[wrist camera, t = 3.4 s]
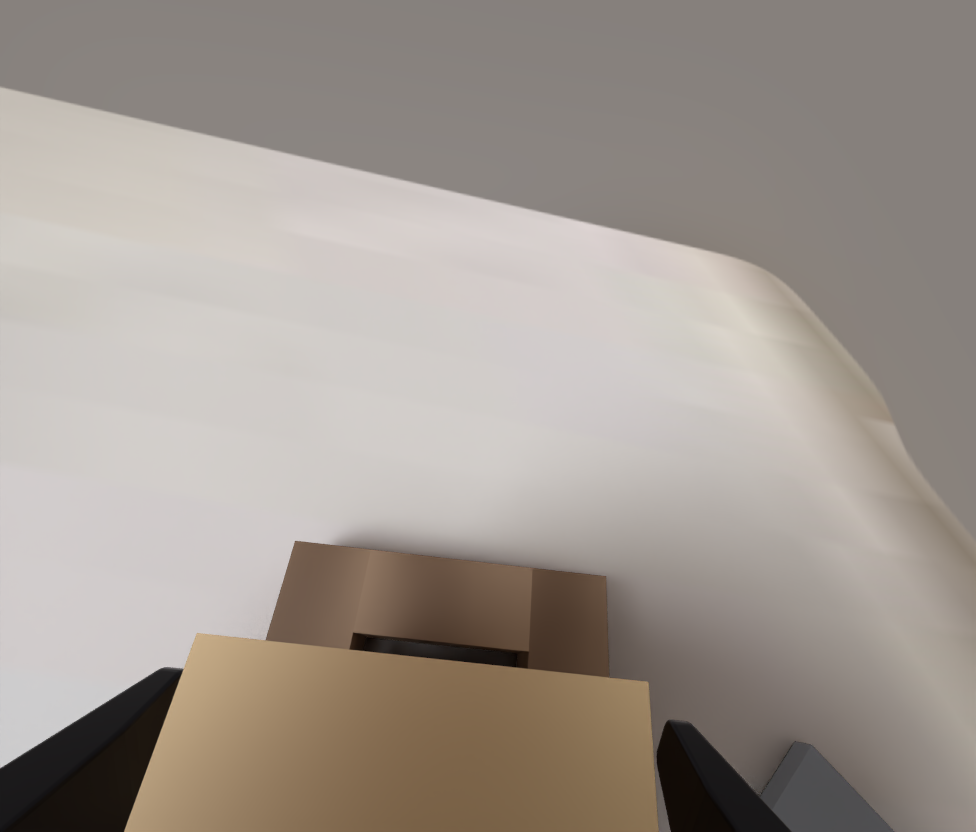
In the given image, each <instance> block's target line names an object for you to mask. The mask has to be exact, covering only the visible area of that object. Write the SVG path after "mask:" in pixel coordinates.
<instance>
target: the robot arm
mask: <svg viewBox="0 0 976 832" xmlns="http://www.w3.org/2000/svg"><path fill="white" fill-rule="evenodd" d="M183 670H184V669H181V668H171V667H164V668H161V669H159V670H157V671H156V672H154V673H152V674H151V675H149V676H148V677H146V678H144V679H143V680H141V681H139V682H138V683H136V684H135V685H133V686H131V687H130V688H128V689H127V690H125V691H123V692H122V693H120V694H119V695H117V696H115V697H114V698H112V699H111V700H109V701H107V702H106V703H104V704H103V705H101V706H99V707H98V708H96V709H95V710H93V711H91V712H90V713H88V714H87V715H85V716H83V717H82V718H80V719H79V720H77V721H75V722H74V723H72V724H71V725H69V726H67V727H66V728H64V729H62V730H61V731H59V732H58V733H56V734H54V735H53V736H51V737H50V738H48V739H46V740H45V741H43V742H42V743H40V744H38V745H37V746H35V747H34V748H32V749H30V750H29V751H27V752H26V753H24V754H22V755H21V756H19V757H18V758H16V759H14V760H13V761H11V762H10V763H8V764H6V765H5V766H3V767H2V768H0V832H124V830H125V828H126V825H127V822H128V819H129V817H130V814H131V811H132V809H133V806H134V803H135V800H136V798H137V795H138V792H139V789H140V787H141V784H142V781H143V779H144V776H145V773H146V770H147V768H148V765H149V762H150V759H151V757H152V754H153V751H154V749H155V746H156V743H157V740H158V738H159V735H160V732H161V730H162V727H163V724H164V721H165V719H166V716H167V713H168V710H169V708H170V705H171V702H172V700H173V697H174V694H175V691H176V689H177V686H178V683H179V680H180V678H181V675H182V672H183ZM657 767H658V772H659V777H660V782H661V786H662V791H663V796H664V801H665V806H666V810H667V815H668V820H669V825H670V830H671V832H792V831H791V830H790V829H789V828H788V827H787V825H786V824H785V823H784V822H783V821H782V820H781V819H780V818H779V817H778V816H777V815H776V814H775V813H774V812H773V810H772V809H771V808H770V807H769V806H768V805H767V804H766V803H765V802H764V801H763V800H762V799H761V798H760V797H759V795H758V794H757V793H756V792H755V791H754V790H753V789H752V788H751V787H750V786H749V785H748V784H747V783H746V782H745V780H744V779H743V778H742V777H741V776H740V775H739V774H738V773H737V772H736V771H735V770H734V769H733V768H732V766H731V765H730V764H729V763H728V762H727V761H726V760H725V759H724V758H723V757H722V756H721V755H720V754H719V753H718V751H717V750H716V749H715V748H714V747H713V746H712V745H711V744H710V743H709V742H708V741H707V740H706V739H705V738H704V736H703V735H702V734H701V733H700V732H699V731H698V730H697V729H696V728H695V727H694V726H693V725H692V724H691V723H689V722H687V721H679V720H668V721H667V722H666V724H665V726H664V729H663V733H662V736H661V739H660V743H659V746H658V749H657Z"/></svg>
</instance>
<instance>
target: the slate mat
mask: <svg viewBox="0 0 976 832" xmlns="http://www.w3.org/2000/svg"><path fill="white" fill-rule="evenodd" d="M760 798H761V799H762V800H763V801H764V802H765V803H766V804H767V805H768V806H769V807H770V808H771V809H772V810H773V812H774V813H775V814H776V815H777V816H778V817H779V818H780V819H781V820H782V821H783V822H784V823H785V824H786V825H787V827H788V828H789V829H790V830H791V831H792V832H894V831H893V830H892V829H891V828H890V827H889V826H888V824H887V823H886V822H885V821H884V820H883V819H882V818H881V817H880V816H879V815H878V814H877V813H876V812H875V811H874V810H873V809H872V808H871V807H870V806H869V804H868V803H867V802H866V801H865V800H864V799H863V798H862V797H861V796H860V795H859V794H858V793H857V792H856V791H855V790H854V789H853V788H852V787H851V786H850V784H849V783H848V782H847V781H846V780H845V779H844V778H843V777H842V776H841V775H840V774H839V773H838V772H837V771H836V770H835V769H834V768H833V767H832V766H831V764H830V763H829V762H828V761H827V760H826V759H825V758H824V757H823V756H822V755H821V754H820V753H819V752H818V751H817V750H816V749H815V748H814V747H813V746H812V745H810V744H805V743H800V742H796V741H795V742H794V744H793V745H792V747H791V748H790V750H789V752H788V753H787V755H786V756H785V758H784V759H783V761H782V763H781V764H780V766H779V767H778V769H777V770H776V772H775V774H774V775H773V777H772V778H771V780H770V782H769V783H768V785H767V786H766V788H765V789H764V791H763V793H762V794H761V796H760Z"/></svg>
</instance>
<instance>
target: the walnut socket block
mask: <svg viewBox="0 0 976 832" xmlns="http://www.w3.org/2000/svg"><path fill="white" fill-rule="evenodd" d="M366 637H367V638H376V639H385V640H395V641H404V642H413V643H422V644H431V645H441V646H450V647H459V648H468V649H477V650H487V651H496V652H505V653H514V654H517V664H516V668H525V669H534V670H543V671H553V672H562V673H571V674H580V675H590V676H599V677H608V678H609V654H608V622H607V590H606V576H598V575H590V574H581V573H572V572H563V571H555V570H546V569H537V568H528V567H520V566H511V565H502V564H493V563H484V562H476V561H467V560H458V559H449V558H441V557H432V556H423V555H414V554H406V553H397V552H388V551H379V550H371V549H362V548H353V547H344V546H336V545H327V544H318V543H309V542H301V541H295V543H294V547H293V550H292V553H291V557H290V560H289V563H288V567H287V570H286V573H285V577H284V580H283V584H282V587H281V590H280V594H279V597H278V600H277V604H276V607H275V610H274V614H273V617H272V620H271V624H270V627H269V631H268V634H267V637H266V641H275V642H284V643H293V644H302V645H312V646H321V647H330V648H340V649H349V650H358V651H363V649H364V644H365V639H366Z"/></svg>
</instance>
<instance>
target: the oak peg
mask: <svg viewBox="0 0 976 832" xmlns="http://www.w3.org/2000/svg"><path fill="white" fill-rule="evenodd" d="M124 832H659V830H658V815H657V800H656V785H655V771H654V756H653V741H652V726H651V711H650V696H649V682H645V681H636V680H627V679H617V678H608V677H599V676H590V675H580V674H571V673H562V672H553V671H543V670H534V669H525V668H516V667H506V666H497V665H488V664H478V663H469V662H460V661H451V660H441V659H432V658H423V657H414V656H404V655H395V654H386V653H377V652H367V651H358V650H349V649H340V648H330V647H321V646H312V645H302V644H293V643H284V642H275V641H265V640H256V639H247V638H238V637H228V636H219V635H210V634H201V633H197V634H196V637H195V640H194V642H193V645H192V648H191V650H190V653H189V656H188V659H187V661H186V664H185V667H184V670H183V672H182V675H181V678H180V680H179V683H178V686H177V689H176V691H175V694H174V697H173V700H172V702H171V705H170V708H169V710H168V713H167V716H166V719H165V721H164V724H163V727H162V730H161V732H160V735H159V738H158V740H157V743H156V746H155V749H154V751H153V754H152V757H151V759H150V762H149V765H148V768H147V770H146V773H145V776H144V779H143V781H142V784H141V787H140V789H139V792H138V795H137V798H136V800H135V803H134V806H133V809H132V811H131V814H130V817H129V819H128V822H127V825H126V828H125V830H124Z"/></svg>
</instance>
